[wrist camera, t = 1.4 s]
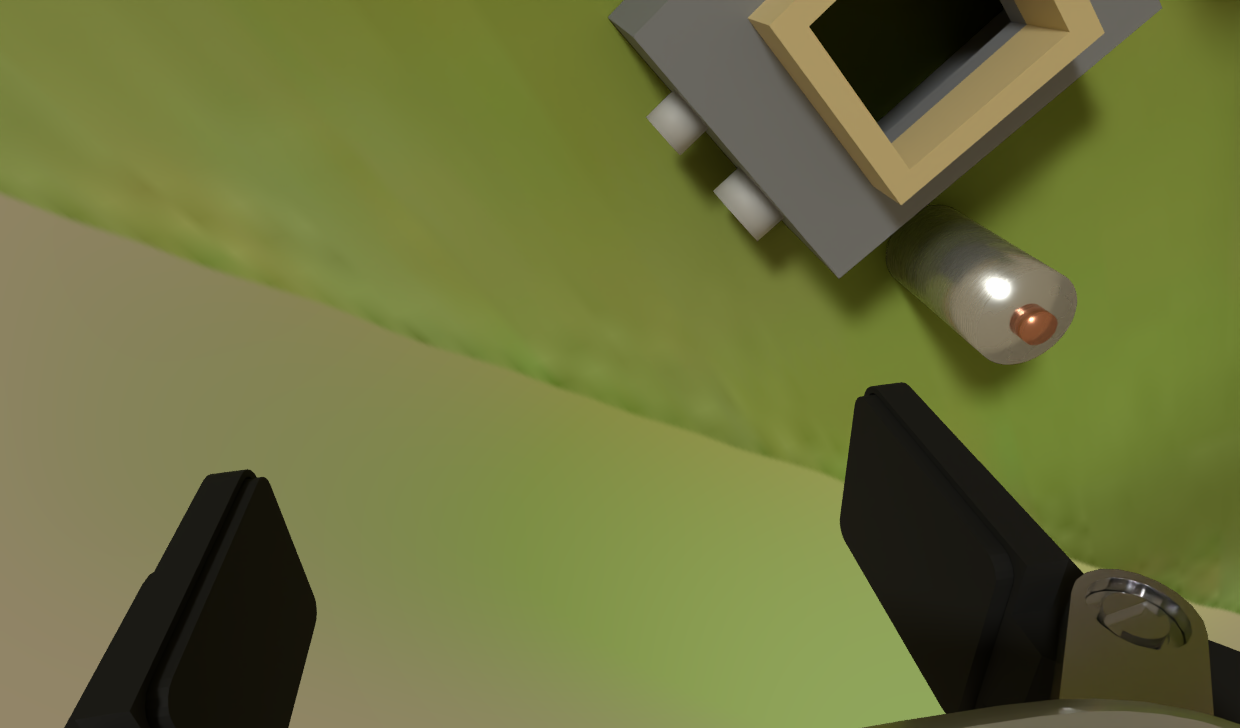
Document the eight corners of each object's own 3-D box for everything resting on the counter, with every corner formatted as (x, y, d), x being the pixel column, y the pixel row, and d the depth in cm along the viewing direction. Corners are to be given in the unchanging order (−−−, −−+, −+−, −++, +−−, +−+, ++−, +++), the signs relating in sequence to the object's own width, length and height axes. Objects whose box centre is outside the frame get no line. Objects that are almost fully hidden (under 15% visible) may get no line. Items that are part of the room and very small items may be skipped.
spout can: (942, 187, 39) (1066, 258, 31) (982, 245, 41) (1108, 326, 33) (870, 247, 40) (970, 332, 32) (912, 301, 43) (1016, 393, 34)
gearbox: (902, -297, 28) (1065, -387, 20) (1047, -6, 35) (1215, 14, 27) (582, 44, 33) (610, 81, 25) (763, 245, 39) (832, 327, 31)
